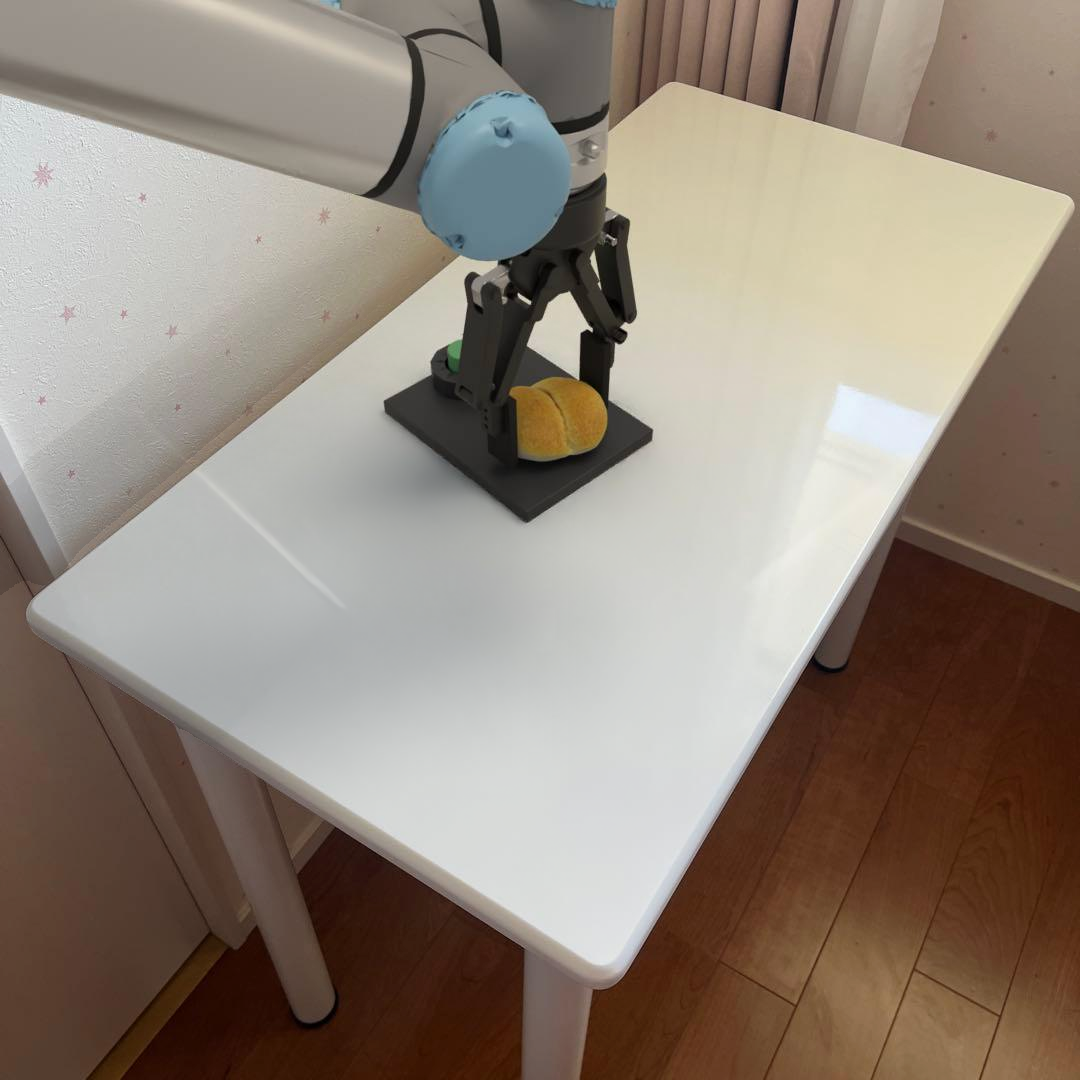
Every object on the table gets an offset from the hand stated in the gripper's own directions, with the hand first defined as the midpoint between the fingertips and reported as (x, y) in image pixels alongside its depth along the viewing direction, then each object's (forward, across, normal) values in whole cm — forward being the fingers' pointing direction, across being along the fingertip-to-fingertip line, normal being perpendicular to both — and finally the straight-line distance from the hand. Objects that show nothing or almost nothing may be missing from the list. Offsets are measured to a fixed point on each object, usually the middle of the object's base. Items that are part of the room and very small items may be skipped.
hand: (549, 429), depth 89 cm
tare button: (0, 0, +10) cm, 11 cm away
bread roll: (0, 0, 0) cm, 0 cm away
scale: (+2, 0, +4) cm, 5 cm away
